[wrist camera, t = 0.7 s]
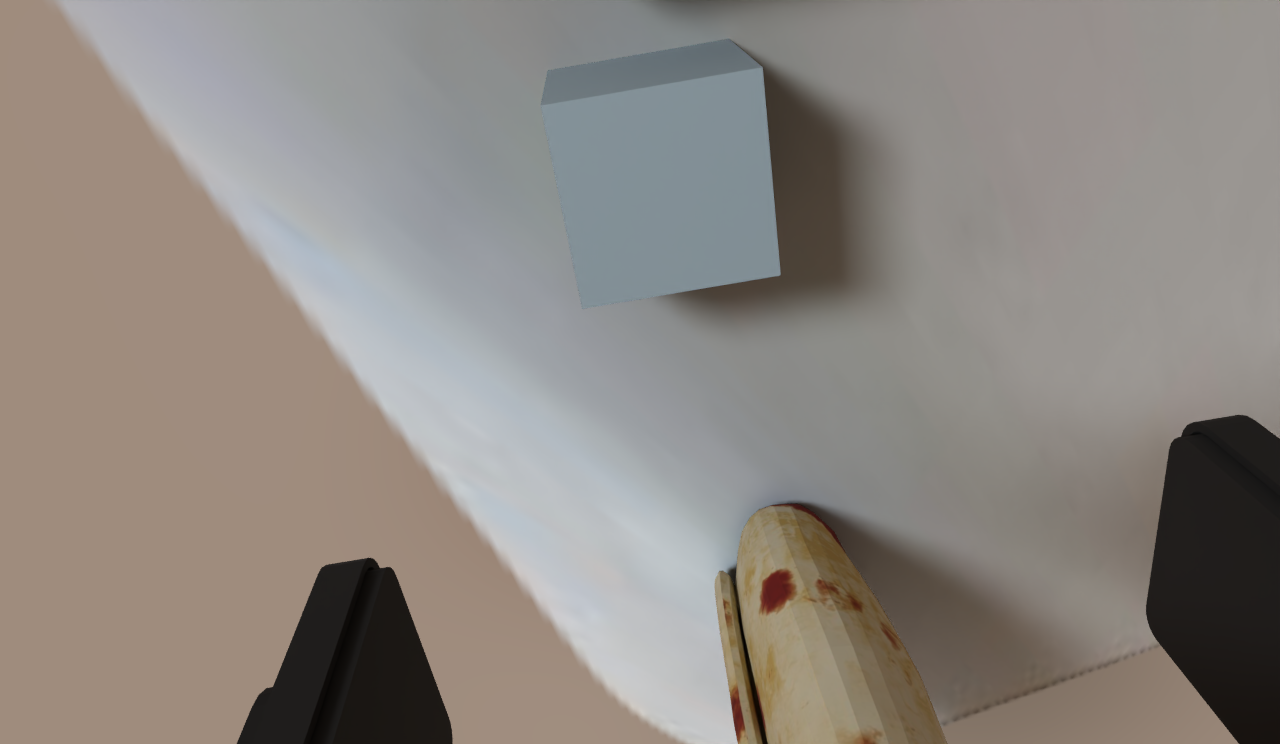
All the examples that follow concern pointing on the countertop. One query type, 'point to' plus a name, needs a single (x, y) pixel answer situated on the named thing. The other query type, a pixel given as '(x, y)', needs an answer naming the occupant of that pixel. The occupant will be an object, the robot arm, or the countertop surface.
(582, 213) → the slate cube
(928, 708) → the food model
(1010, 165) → the countertop surface
